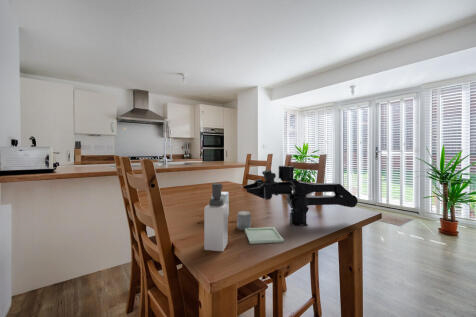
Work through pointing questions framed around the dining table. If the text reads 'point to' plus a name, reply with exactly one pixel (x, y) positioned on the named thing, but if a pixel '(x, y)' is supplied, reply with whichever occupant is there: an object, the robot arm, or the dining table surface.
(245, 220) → the pot
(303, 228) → the dining table surface
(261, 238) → the tray
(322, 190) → the robot arm
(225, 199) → the supplement box
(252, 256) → the dining table surface
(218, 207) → the soap dispenser
